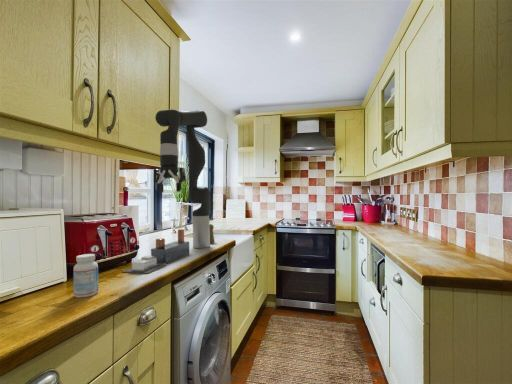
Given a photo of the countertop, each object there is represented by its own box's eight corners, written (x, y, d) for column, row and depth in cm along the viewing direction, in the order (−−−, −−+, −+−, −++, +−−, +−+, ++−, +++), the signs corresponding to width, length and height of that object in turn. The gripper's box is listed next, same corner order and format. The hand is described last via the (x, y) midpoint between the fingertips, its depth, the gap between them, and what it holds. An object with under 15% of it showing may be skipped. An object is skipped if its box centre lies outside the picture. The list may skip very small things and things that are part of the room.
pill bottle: (84, 290, 81) (83, 253, 82) (103, 291, 81) (102, 253, 81) (68, 298, 75) (67, 257, 75) (88, 298, 75) (88, 257, 75)
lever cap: (145, 265, 109) (145, 255, 109) (156, 265, 108) (156, 255, 108) (132, 270, 101) (131, 260, 101) (143, 271, 100) (143, 260, 100)
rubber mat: (141, 265, 111) (141, 264, 111) (165, 266, 109) (165, 265, 109) (122, 272, 101) (122, 271, 101) (147, 273, 98) (147, 272, 98)
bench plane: (176, 253, 134) (176, 229, 134) (189, 253, 132) (188, 229, 132) (150, 263, 114) (150, 234, 114) (165, 264, 112) (165, 235, 112)
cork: (212, 243, 161) (212, 224, 161) (202, 243, 162) (202, 224, 162) (216, 241, 167) (215, 223, 167) (206, 241, 168) (206, 223, 168)
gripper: (187, 155, 121) (188, 191, 120) (159, 157, 124) (160, 192, 124) (179, 152, 113) (179, 191, 113) (149, 154, 117) (150, 192, 117)
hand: (169, 192), depth 119 cm, fingers open, 8 cm apart
